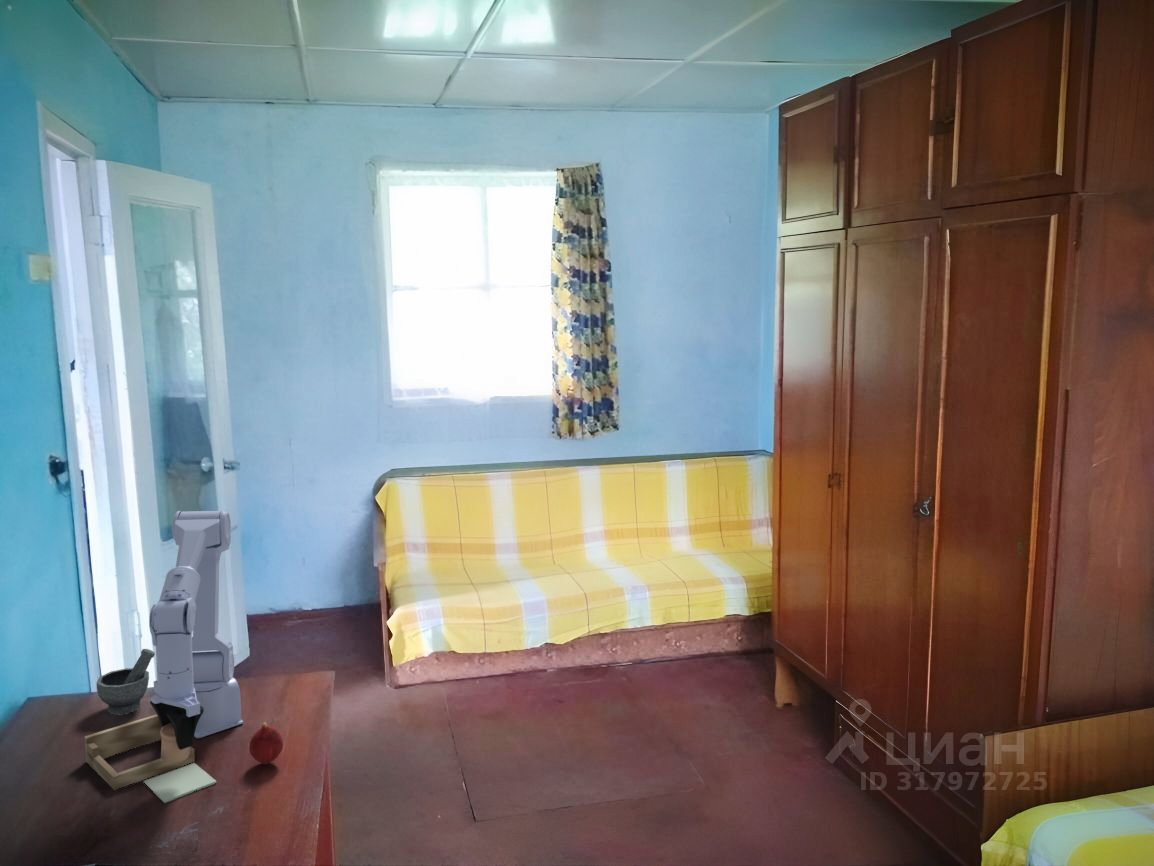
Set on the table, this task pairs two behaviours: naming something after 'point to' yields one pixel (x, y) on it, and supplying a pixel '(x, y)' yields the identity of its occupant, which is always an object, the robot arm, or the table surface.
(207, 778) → the mat
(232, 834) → the table surface
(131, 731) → the wooden frame
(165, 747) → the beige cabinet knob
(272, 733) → the onion
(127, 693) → the mortar and pestle
